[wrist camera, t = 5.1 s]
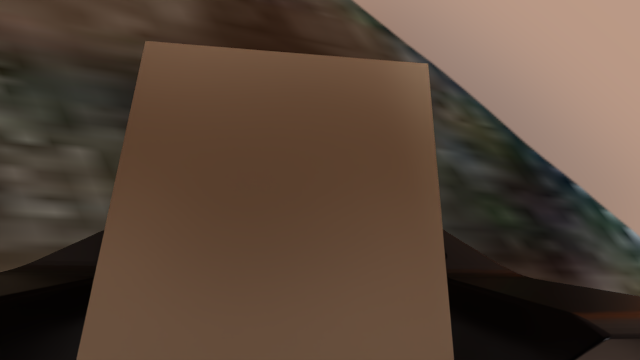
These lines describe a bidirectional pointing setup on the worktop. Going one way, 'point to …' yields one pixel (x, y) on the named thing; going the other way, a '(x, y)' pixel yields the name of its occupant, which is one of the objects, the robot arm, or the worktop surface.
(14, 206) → the worktop surface
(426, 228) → the block
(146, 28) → the worktop surface
